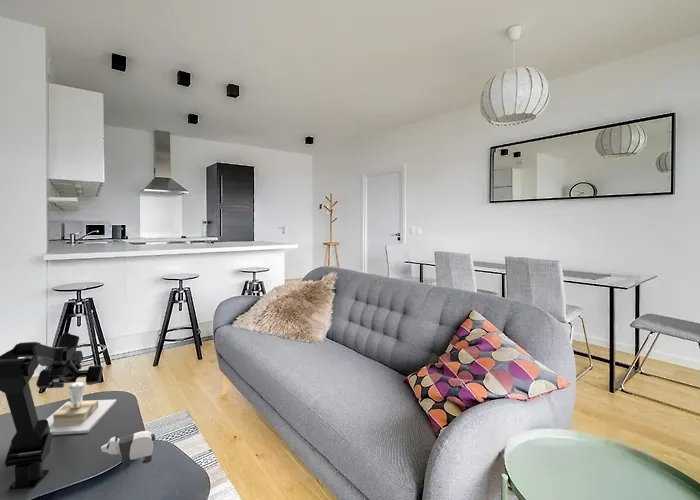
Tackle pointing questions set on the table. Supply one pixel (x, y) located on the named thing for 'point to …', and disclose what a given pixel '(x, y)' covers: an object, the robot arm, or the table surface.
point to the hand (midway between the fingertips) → (77, 384)
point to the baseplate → (80, 426)
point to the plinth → (75, 412)
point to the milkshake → (76, 394)
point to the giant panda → (131, 447)
